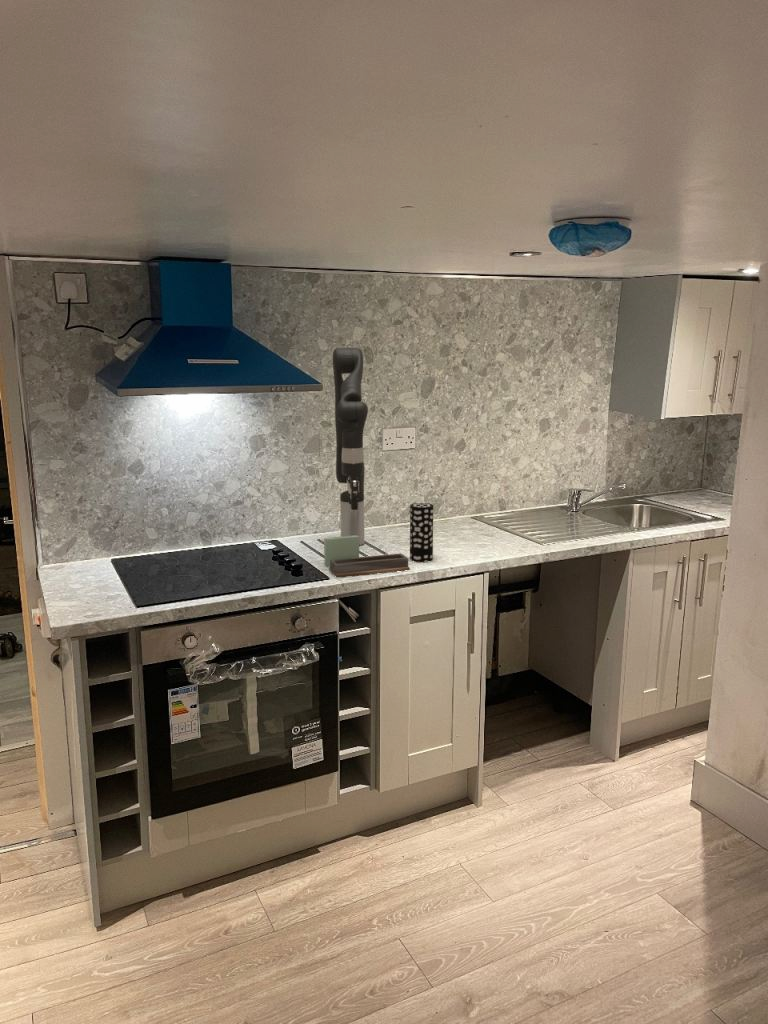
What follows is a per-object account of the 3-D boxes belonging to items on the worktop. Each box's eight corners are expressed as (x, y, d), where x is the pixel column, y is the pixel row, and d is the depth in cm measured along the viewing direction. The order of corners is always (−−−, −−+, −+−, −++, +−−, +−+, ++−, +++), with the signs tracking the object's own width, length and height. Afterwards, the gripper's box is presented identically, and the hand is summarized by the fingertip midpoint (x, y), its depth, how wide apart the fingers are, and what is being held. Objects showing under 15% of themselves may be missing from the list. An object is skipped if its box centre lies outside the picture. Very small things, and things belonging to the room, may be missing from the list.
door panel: (324, 565, 275) (324, 538, 273) (357, 562, 279) (356, 535, 277) (326, 567, 273) (325, 539, 271) (359, 564, 277) (358, 536, 275)
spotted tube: (406, 557, 285) (406, 504, 280) (427, 555, 288) (427, 502, 283) (415, 563, 277) (415, 508, 273) (436, 561, 280) (437, 506, 276)
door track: (329, 569, 269) (328, 558, 269) (399, 563, 278) (399, 552, 277) (336, 578, 260) (336, 566, 259) (409, 570, 268) (409, 559, 268)
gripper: (340, 457, 272) (340, 502, 276) (343, 464, 258) (344, 511, 262) (361, 456, 273) (361, 502, 277) (365, 463, 259) (366, 511, 263)
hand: (353, 506), depth 269 cm, fingers open, 8 cm apart
